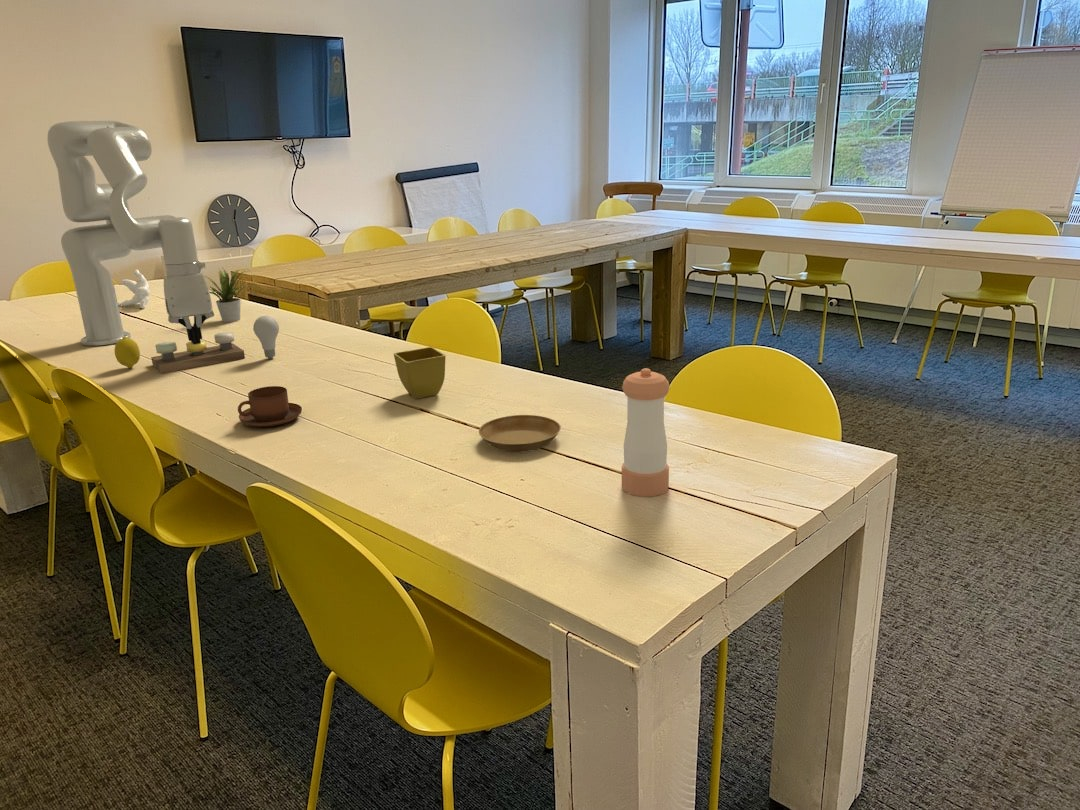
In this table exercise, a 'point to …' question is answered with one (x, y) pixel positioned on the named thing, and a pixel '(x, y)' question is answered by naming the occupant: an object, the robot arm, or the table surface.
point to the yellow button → (196, 348)
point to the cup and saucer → (268, 407)
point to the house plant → (228, 297)
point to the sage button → (166, 350)
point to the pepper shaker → (645, 435)
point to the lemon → (127, 352)
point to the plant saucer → (519, 432)
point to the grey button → (224, 340)
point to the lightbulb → (267, 334)
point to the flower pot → (421, 371)
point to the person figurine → (137, 291)
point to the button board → (197, 359)
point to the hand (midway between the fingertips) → (196, 342)
